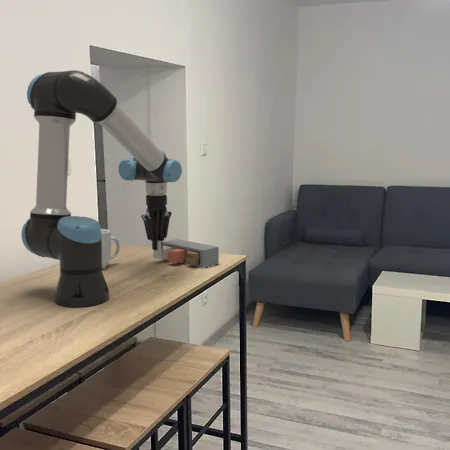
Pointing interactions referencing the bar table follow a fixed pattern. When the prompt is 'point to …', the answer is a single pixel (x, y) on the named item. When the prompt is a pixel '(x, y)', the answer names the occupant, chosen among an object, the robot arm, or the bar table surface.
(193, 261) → the walnut peg
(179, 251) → the brick peg
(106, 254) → the mug
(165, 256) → the cream peg
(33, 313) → the bar table surface
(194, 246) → the socket block
